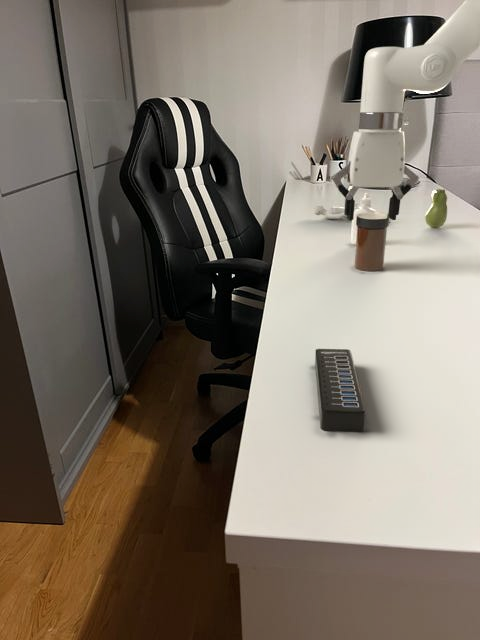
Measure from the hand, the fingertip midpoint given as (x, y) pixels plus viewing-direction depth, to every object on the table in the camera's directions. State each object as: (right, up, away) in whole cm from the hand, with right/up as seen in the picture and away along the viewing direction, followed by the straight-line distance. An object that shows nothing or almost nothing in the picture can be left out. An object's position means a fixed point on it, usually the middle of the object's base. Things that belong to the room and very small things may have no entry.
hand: (370, 218), depth 99 cm
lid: (0, 0, 0) cm, 0 cm away
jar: (+1, -9, +4) cm, 10 cm away
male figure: (+7, +9, +47) cm, 48 cm away
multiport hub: (-15, -29, -41) cm, 52 cm away
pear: (+27, +5, +36) cm, 45 cm away
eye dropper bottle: (+4, -2, +21) cm, 22 cm away
